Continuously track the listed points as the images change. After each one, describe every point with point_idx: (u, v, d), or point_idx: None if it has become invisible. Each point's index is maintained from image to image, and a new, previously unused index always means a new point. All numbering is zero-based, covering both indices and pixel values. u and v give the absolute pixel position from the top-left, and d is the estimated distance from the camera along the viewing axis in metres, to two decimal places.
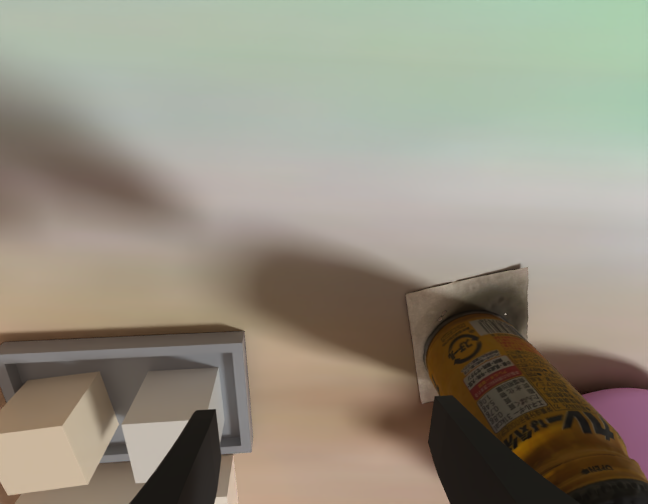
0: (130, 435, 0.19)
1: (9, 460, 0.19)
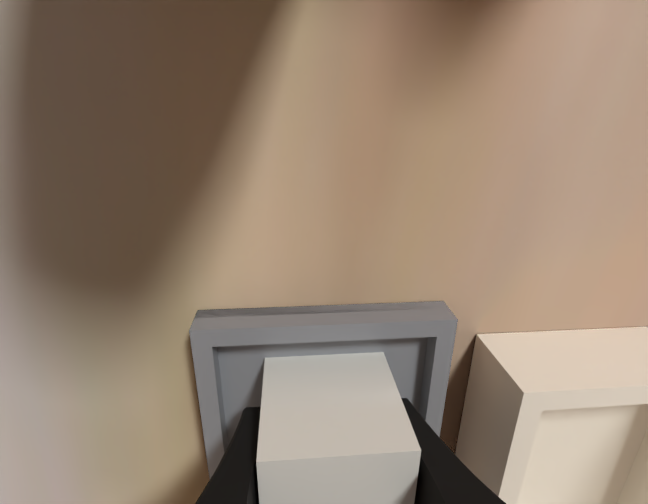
0: None
1: None
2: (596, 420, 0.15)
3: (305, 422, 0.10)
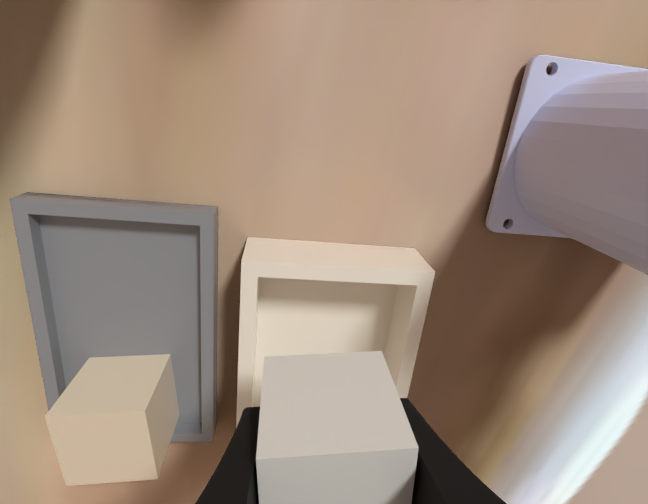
0: None
1: (101, 468, 0.17)
2: (346, 317, 0.20)
3: (304, 420, 0.10)
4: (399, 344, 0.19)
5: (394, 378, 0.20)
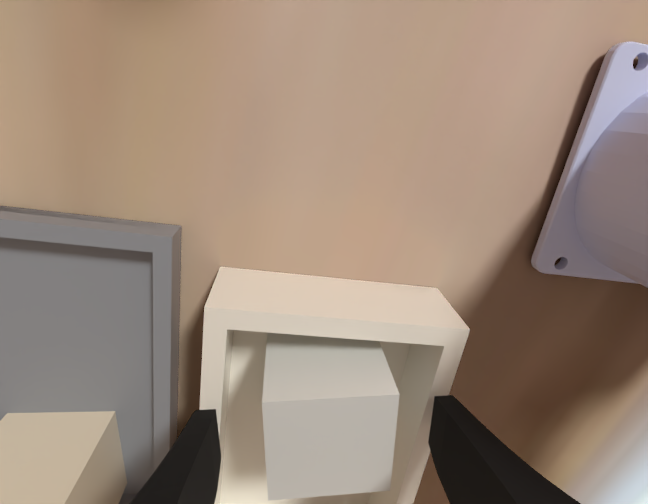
0: (290, 492, 0.12)
1: None
2: None
3: (302, 374, 0.12)
4: (413, 415, 0.15)
5: (404, 457, 0.15)
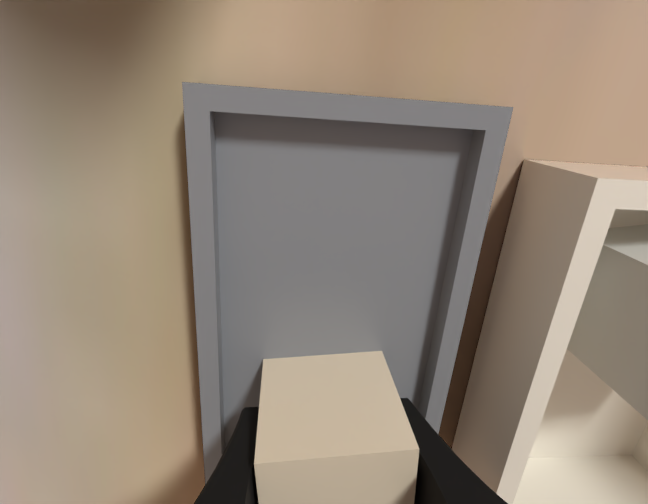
0: None
1: None
2: None
3: None
4: None
5: None
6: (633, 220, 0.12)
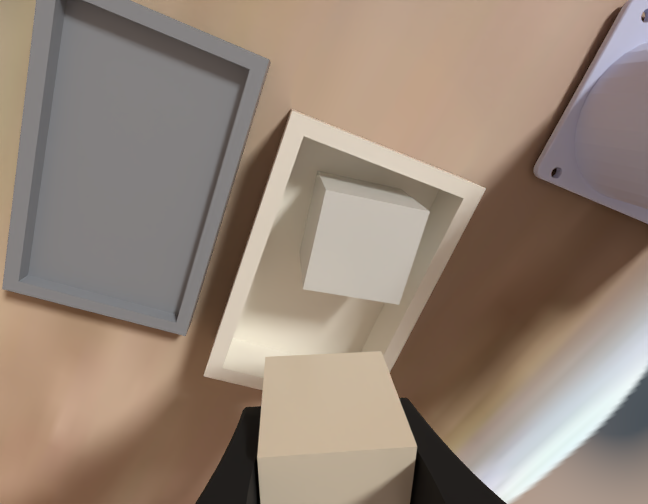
0: (322, 285, 0.15)
1: None
2: None
3: (353, 189, 0.15)
4: (421, 266, 0.18)
5: (405, 303, 0.18)
6: (358, 175, 0.18)
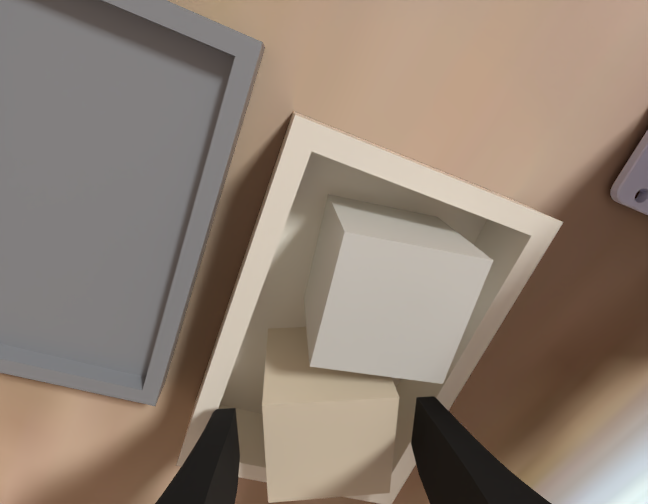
0: (337, 360, 0.11)
1: (321, 478, 0.12)
2: None
3: (381, 227, 0.11)
4: None
5: None
6: (383, 200, 0.13)
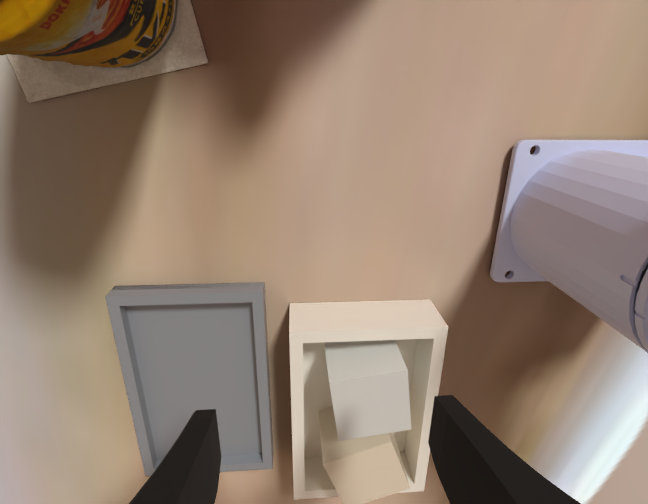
0: (351, 434, 0.21)
1: (368, 490, 0.23)
2: None
3: (349, 364, 0.21)
4: (423, 383, 0.23)
5: (421, 411, 0.23)
6: None
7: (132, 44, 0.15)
